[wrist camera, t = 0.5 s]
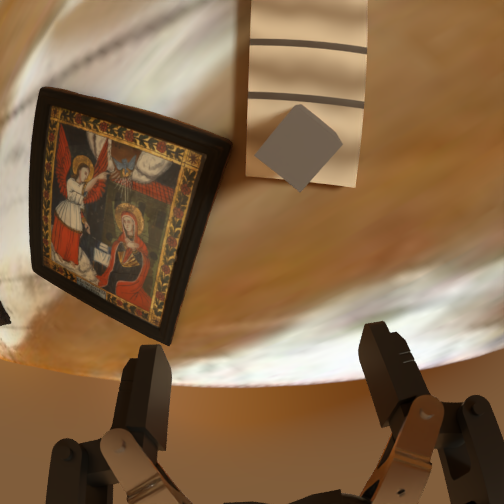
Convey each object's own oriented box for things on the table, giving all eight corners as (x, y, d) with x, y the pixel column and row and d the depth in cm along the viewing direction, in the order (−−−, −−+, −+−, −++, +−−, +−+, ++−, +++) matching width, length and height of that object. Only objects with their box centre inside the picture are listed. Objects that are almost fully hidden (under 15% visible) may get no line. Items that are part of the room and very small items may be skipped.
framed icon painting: (32, 86, 36) (20, 88, 33) (243, 110, 34) (238, 112, 31) (41, 279, 55) (32, 287, 52) (196, 344, 53) (191, 356, 50)
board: (256, -23, 25) (252, -29, 24) (364, -16, 23) (366, -22, 22) (249, 172, 36) (245, 176, 35) (353, 182, 34) (355, 187, 33)
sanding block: (301, 104, 30) (295, 104, 21) (335, 131, 30) (343, 144, 22) (272, 139, 32) (253, 155, 24) (305, 166, 33) (300, 192, 24)
